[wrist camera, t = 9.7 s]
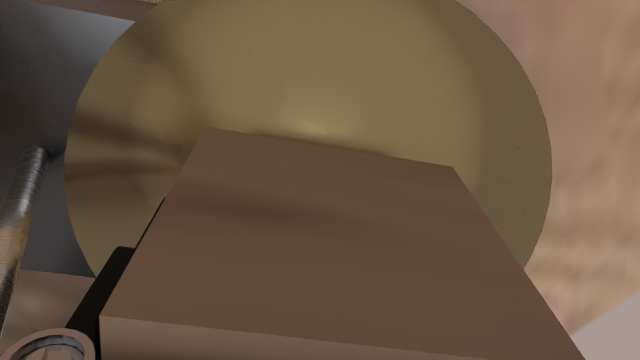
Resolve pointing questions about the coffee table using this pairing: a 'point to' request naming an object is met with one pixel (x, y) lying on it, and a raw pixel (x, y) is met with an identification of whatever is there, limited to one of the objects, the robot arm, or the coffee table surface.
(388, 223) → the walnut block
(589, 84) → the coffee table surface
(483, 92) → the balance
